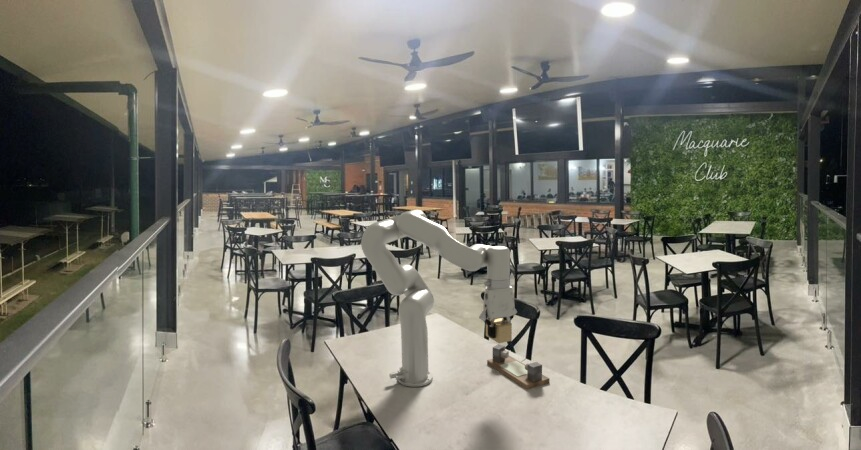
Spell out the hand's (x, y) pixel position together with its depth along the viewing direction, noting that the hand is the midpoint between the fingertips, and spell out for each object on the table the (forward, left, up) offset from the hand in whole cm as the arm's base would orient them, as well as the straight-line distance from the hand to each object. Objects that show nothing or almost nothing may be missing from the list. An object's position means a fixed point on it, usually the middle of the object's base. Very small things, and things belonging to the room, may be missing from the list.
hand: (498, 335), depth 160 cm
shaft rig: (+14, +7, -19) cm, 25 cm away
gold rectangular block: (0, 0, -1) cm, 1 cm away
